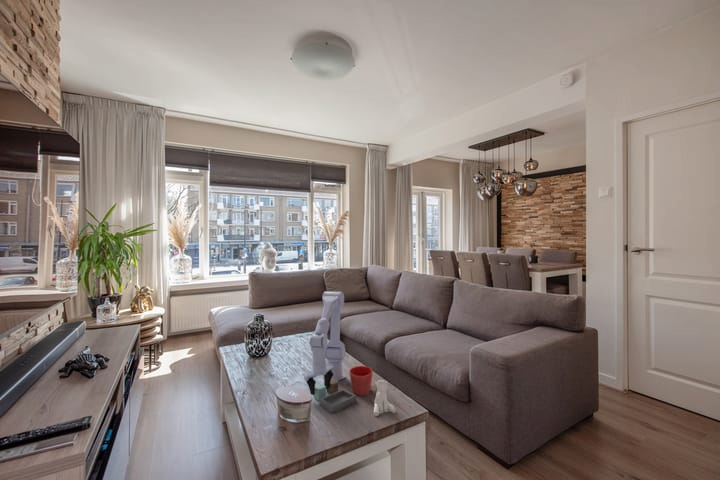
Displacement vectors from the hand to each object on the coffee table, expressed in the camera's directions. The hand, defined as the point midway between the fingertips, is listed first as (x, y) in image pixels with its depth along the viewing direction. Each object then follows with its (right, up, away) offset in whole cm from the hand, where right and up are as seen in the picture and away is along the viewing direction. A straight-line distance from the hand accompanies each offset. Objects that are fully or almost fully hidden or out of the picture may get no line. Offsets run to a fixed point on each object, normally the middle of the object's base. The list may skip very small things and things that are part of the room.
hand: (319, 391), depth 141 cm
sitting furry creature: (+27, -3, -11) cm, 29 cm away
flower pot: (+19, -3, +5) cm, 20 cm away
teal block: (0, -3, 0) cm, 3 cm away
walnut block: (+5, -3, +5) cm, 8 cm away
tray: (+9, -3, -5) cm, 10 cm away
